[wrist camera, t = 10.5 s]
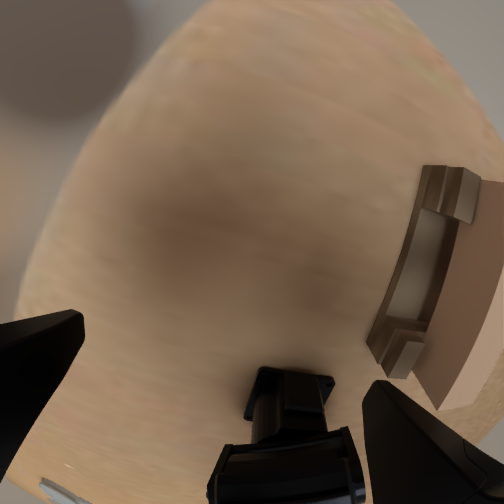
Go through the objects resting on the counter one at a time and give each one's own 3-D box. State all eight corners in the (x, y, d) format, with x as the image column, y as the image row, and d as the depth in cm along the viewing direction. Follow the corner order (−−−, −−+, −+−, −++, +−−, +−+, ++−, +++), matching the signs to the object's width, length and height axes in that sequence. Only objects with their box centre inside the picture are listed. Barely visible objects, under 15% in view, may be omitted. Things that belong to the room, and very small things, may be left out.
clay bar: (443, 366, 18) (471, 404, 13) (410, 367, 18) (437, 411, 13) (497, 191, 14) (546, 201, 9) (466, 178, 14) (518, 184, 9)
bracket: (444, 350, 20) (468, 379, 16) (366, 342, 20) (384, 377, 16) (498, 203, 17) (534, 212, 12) (423, 165, 17) (461, 165, 12)
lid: (116, 520, 41) (113, 528, 38) (64, 500, 42) (61, 506, 40) (83, 493, 36) (79, 502, 33) (31, 469, 38) (27, 476, 35)
